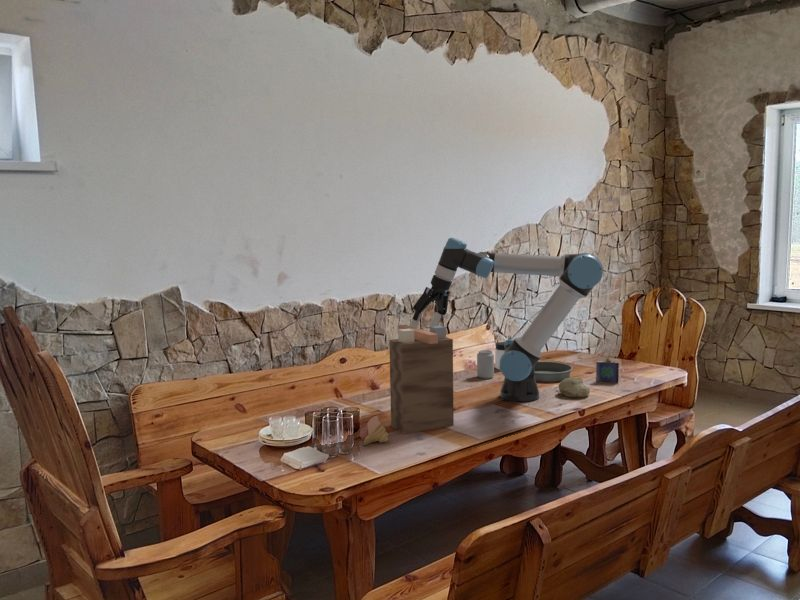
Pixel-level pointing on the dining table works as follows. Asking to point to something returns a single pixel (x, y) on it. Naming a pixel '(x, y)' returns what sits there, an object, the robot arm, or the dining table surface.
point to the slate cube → (439, 331)
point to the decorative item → (573, 387)
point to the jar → (499, 353)
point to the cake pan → (551, 371)
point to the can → (485, 364)
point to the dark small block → (607, 371)
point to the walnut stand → (421, 385)
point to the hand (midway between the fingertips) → (422, 328)
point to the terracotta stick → (422, 334)
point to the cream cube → (406, 335)
